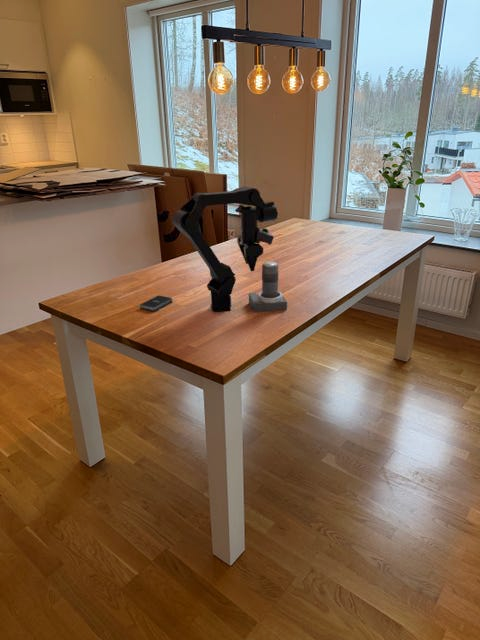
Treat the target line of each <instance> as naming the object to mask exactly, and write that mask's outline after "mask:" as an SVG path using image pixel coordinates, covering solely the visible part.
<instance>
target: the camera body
mask: <svg viewBox="0 0 480 640" xmlns="http://www.w3.org/2000/svg"><path fill="white" fill-rule="evenodd" d="M283 295H284V294H283V293H282V292H281V291H279V290H278V297H276V298H265V297H262V291H259V292H258V294H257V292H249V293H248V305H250V306H249V307H250V308H251V309H252V312H253V313H262V312H263V313H265V312H276V311H287V310H288V308H287V307H288V301H287V299H286V298H285V296H283Z"/></svg>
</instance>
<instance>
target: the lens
mask: <svg viewBox="0 0 480 640" xmlns="http://www.w3.org/2000/svg"><path fill="white" fill-rule="evenodd" d="M261 265H262V266H261V268H262V269H261V271H262V272H261V281H262V283H261V287H262V288H261V292H262V297H265V298H276V297H278V291H279V264H278V263H277V262H273V261H266V262H264V263H262V264H261Z"/></svg>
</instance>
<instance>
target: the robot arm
mask: <svg viewBox="0 0 480 640" xmlns="http://www.w3.org/2000/svg"><path fill="white" fill-rule="evenodd" d="M260 193H261V192H260V190H258V188H256V187H250V186H247V185H246V186H241V187H236V188H235V189H233V190H229V191H216V192H202V193H201V192H195V193H194V194H193V195H192V197H191V198H190V199H188V201H187V202H185V203H183V204H182V205H181V207H180V208H179V209H178V210H177V211H175V212H174V213H173V214H172V218H171V219H172V220H171V222H172V225H173V226H174V227H175V228H176V229H177V230H178V231H179V232H180V233H181V234H182V235H184V236H185V237H186V238H187V239H188V241H190V243H191V245H193V247H194V249H195V250H196V252H197V253H198V254H199V255H200V257H201V259H202V260H203V262H204V263H205V264H206V266H207V268H208V269H209V273H210V277H211V279H210V280H209V281H208V283H207V284H206V287H207V290H208V291H209V292H210V301H211V302H210V308H211V312H213V313H215V312H216V313H217V312H226V311H227V312H228V311H231V307H232V296H231V295H232V292H233V290H234V286H235V285H236V281H237V279H236V273H234V272H233V270H232V268H231V266H230V265H227V264H226V263H223V262H221V261H220V260H219V259H218V257H217V256H216V254H215V252H214V251H213V249H212V248H211V247H210V244H209V243H208V242H207V240H206V239H205V237H204V235H203V234H202V232H201V226H200V224H199V221H200V219H201V218H202V215H203V214H204V212H205V208H206V207H209V206H219V205H221V206H222V205H232V204H238V205H239V206H238V207H237V208H236V209H235V210H234V212H235V213H239V214H240V224H241V225H240V226H239V228H240V231H241V234H239V235H238V236H236V242H237V245H238V248H239V249H240V253H241V254H242V256H243V259H244V262H245V264H246V265H248V267H249V270H250V271H251V272H254V271H255V270H256V269H255V268H256V265H257V262H258V258H259V257H260V256H262V255H263V254H264V247H263V246H262V245H261V243H265V244H268V245H269V246H270V245H272V243H273V240H274V238H275V236H274V235H273V234H272V233H270V232H269V230H268V229H267V228H266V227H262V229H260V228H259V225H258V222H259V223H261V224H262V223H268V222H273V221H276V220H277V219H278V215H279V214H278V209H277V207H276V206H275V202H274V201H272V200H270V201H266V202H265V201H264V200H263V198H262V197H261V194H260ZM244 205H245V206H244ZM252 206H253V207H252Z"/></svg>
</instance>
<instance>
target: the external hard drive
mask: <svg viewBox="0 0 480 640" xmlns="http://www.w3.org/2000/svg"><path fill="white" fill-rule="evenodd" d="M172 303H173V298H172V297H169V296H163V295H160V294H159V295H156V296H153V297H152V298H150V299H148V300H146V301H144V302H141V303H140V304H139V309H140V310H142V309H143V311H147V312H150V313H151V312H152V313H155V312H157V311H159V310H161V309H162V308H164V307H167V306H168V305H170V304H172Z"/></svg>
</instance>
